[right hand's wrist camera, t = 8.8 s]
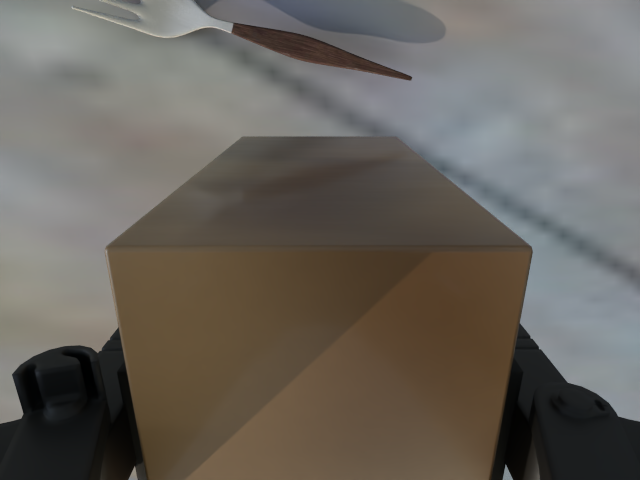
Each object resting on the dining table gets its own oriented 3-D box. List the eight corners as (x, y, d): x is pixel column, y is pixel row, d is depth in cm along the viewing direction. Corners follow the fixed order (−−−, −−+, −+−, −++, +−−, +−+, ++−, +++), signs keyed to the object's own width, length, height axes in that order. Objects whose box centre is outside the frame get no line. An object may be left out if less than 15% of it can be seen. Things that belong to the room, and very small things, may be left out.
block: (253, 334, 19) (174, 641, 9) (241, 136, 16) (101, 247, 6) (385, 334, 19) (463, 641, 9) (397, 136, 16) (536, 246, 6)
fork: (401, 104, 23) (408, 107, 21) (91, 18, 22) (70, 12, 20) (417, 52, 22) (427, 50, 20) (96, -42, 21) (74, -54, 19)
